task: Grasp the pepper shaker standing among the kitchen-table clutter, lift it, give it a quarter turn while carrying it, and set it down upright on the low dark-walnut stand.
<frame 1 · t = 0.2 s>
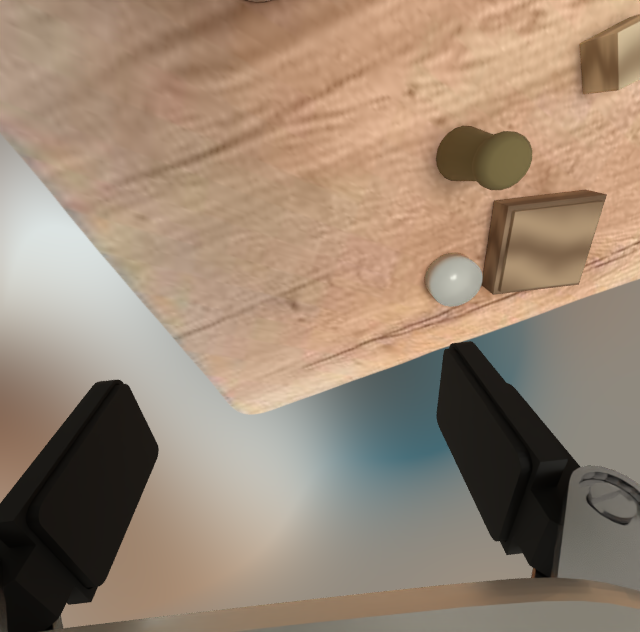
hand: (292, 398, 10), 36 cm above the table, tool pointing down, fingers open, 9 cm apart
pepper shaker: (460, 154, 41), on the table
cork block: (604, 57, 37), on the table
pale grey dome: (448, 275, 49), on the table
walnut stand: (530, 240, 47), on the table
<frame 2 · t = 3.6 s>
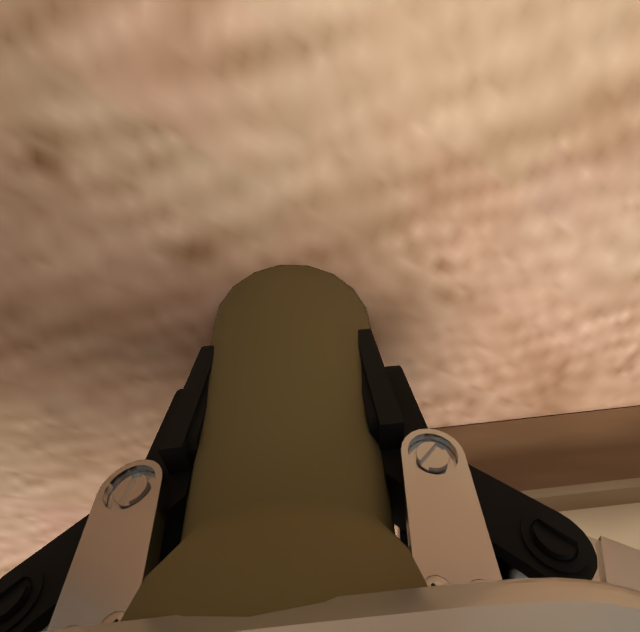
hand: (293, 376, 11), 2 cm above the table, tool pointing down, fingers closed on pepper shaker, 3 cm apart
pepper shaker: (293, 335, 13), on the table, touching gripper
walnut stand: (513, 492, 19), on the table
when the fingers open (8 cm above the table, at t = 8.8 s): pepper shaker drops 2 cm, resting on walnut stand.
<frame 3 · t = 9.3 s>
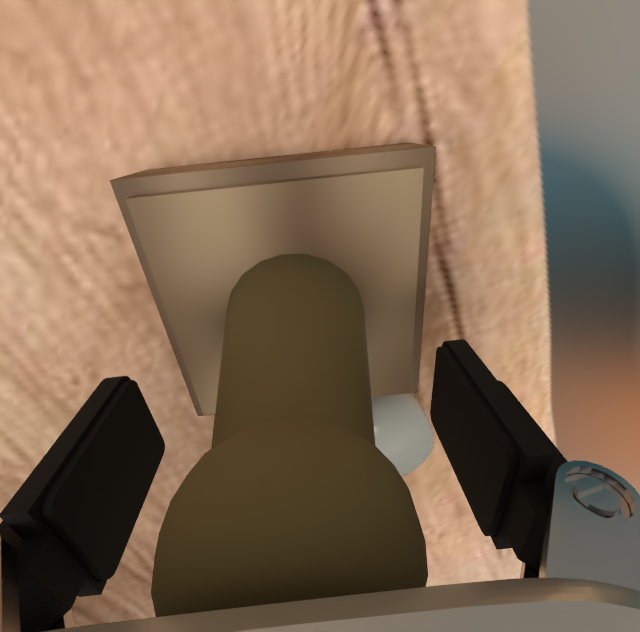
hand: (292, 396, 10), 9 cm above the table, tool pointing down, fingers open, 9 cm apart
pepper shaker: (296, 316, 15), point 4 cm above the table, touching walnut stand
pale grey dome: (370, 412, 24), on the table
walnut stand: (294, 277, 18), on the table
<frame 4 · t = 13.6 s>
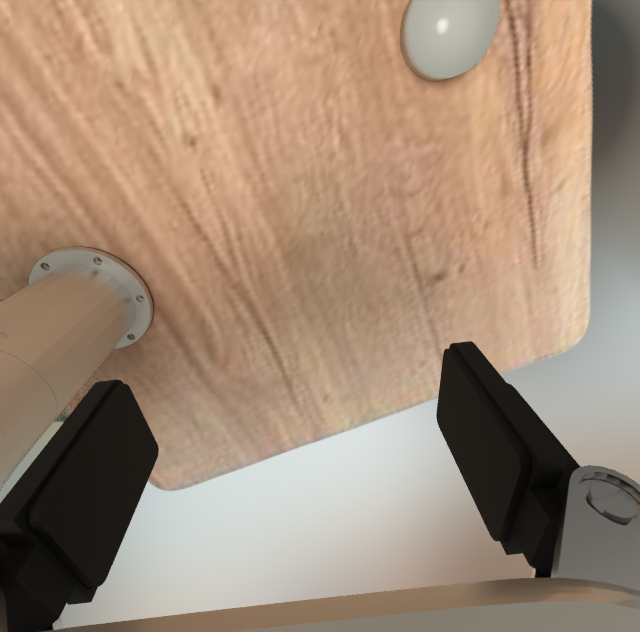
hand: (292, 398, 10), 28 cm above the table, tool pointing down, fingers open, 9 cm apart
pale grey dome: (440, 31, 29), on the table
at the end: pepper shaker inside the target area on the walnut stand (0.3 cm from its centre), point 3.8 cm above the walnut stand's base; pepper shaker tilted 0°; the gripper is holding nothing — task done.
